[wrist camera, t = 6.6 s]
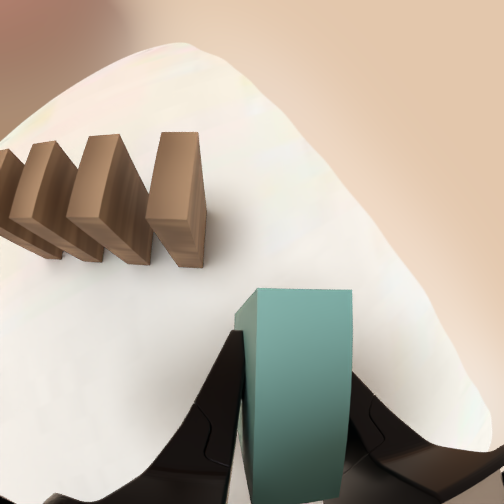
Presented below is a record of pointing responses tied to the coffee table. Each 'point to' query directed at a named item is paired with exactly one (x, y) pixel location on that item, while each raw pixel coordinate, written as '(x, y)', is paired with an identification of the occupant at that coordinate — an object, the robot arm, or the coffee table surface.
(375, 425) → the robot arm
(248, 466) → the tile
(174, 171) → the tile
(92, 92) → the coffee table surface
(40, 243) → the tile
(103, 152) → the brown wooden block
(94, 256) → the brown wooden plank
